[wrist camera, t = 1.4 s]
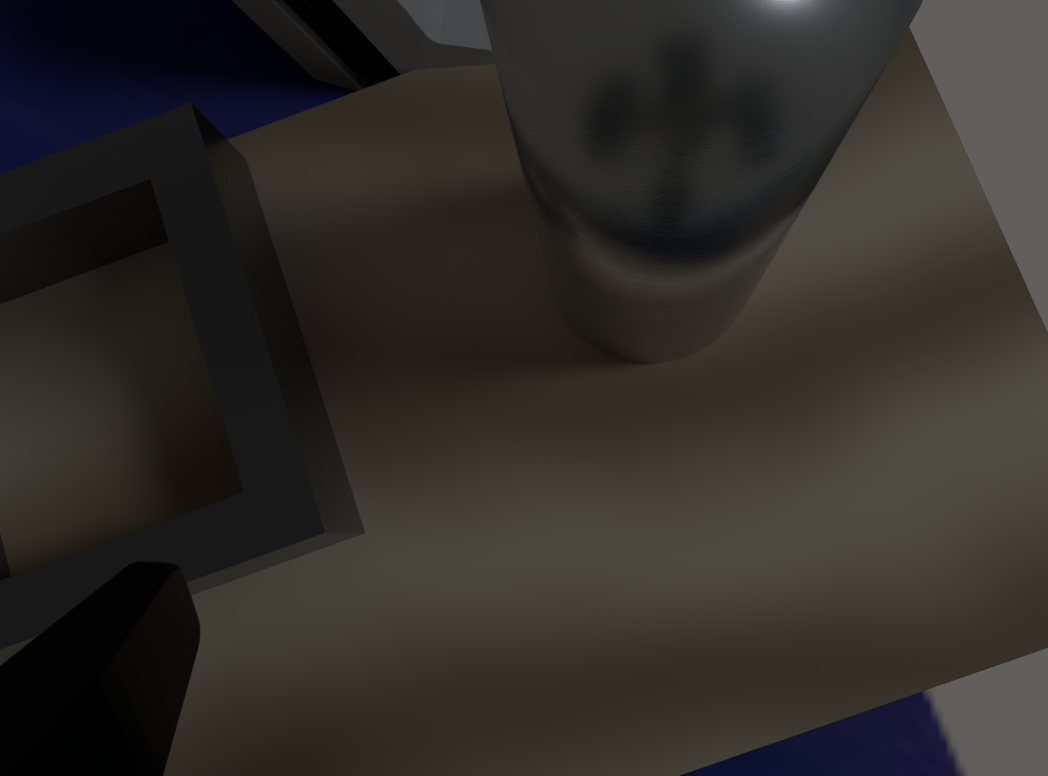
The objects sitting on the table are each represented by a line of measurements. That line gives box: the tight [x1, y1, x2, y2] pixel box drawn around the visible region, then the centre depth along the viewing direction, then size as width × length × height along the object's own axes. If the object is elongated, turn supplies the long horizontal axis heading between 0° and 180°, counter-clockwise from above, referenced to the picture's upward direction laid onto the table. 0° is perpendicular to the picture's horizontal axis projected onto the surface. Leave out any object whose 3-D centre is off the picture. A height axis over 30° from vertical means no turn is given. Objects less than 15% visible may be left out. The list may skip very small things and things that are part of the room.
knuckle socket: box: [0, 103, 365, 664], centre depth 20 cm, size 9×9×3 cm
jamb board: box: [0, 28, 1048, 776], centre depth 22 cm, size 16×26×1 cm, turn 109°
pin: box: [480, 0, 922, 363], centre depth 15 cm, size 4×4×12 cm
